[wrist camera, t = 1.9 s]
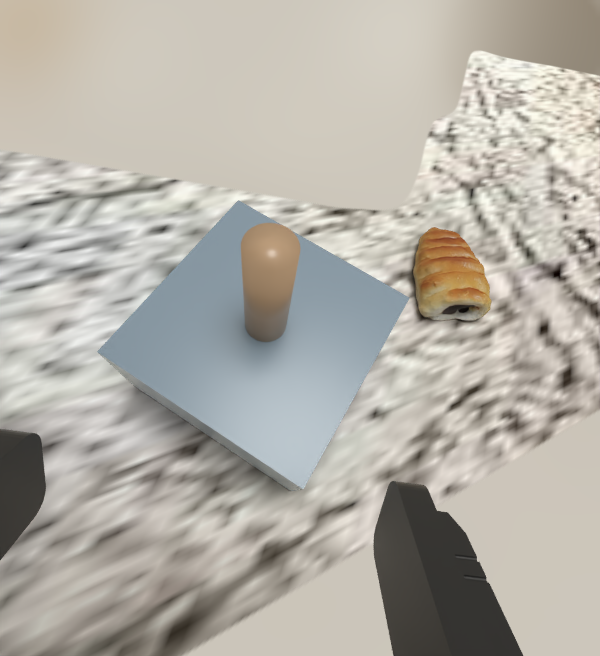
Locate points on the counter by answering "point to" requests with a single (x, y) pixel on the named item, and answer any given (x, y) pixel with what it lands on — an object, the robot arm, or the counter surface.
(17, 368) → the counter surface
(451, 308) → the pastry
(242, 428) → the cover
